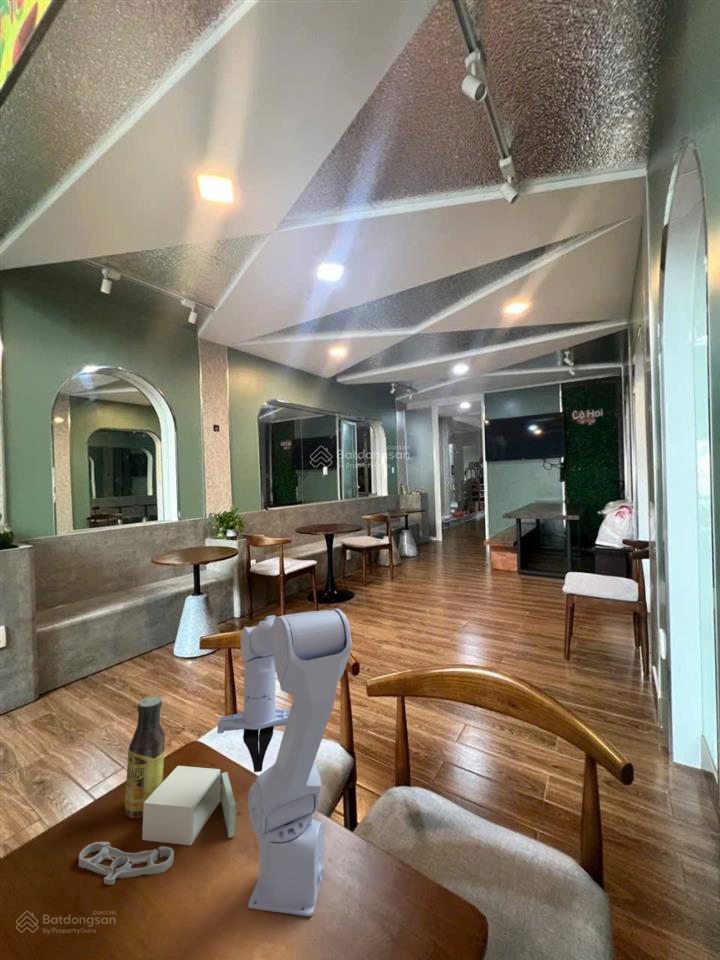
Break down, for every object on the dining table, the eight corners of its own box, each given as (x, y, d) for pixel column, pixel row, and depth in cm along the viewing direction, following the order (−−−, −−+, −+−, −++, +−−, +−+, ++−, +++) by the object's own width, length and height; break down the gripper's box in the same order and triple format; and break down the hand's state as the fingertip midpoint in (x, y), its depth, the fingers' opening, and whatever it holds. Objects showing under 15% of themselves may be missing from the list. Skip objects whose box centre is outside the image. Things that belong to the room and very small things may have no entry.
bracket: (114, 823, 69) (178, 848, 63) (114, 835, 69) (178, 861, 63) (69, 858, 62) (137, 890, 56) (69, 872, 62) (136, 904, 56)
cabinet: (219, 801, 75) (220, 769, 76) (190, 845, 66) (191, 807, 66) (176, 797, 77) (177, 765, 77) (142, 839, 67) (143, 802, 67)
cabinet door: (226, 797, 76) (226, 769, 77) (235, 835, 67) (236, 803, 68) (219, 799, 76) (220, 770, 76) (228, 838, 67) (229, 805, 67)
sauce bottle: (117, 812, 73) (122, 702, 75) (150, 792, 78) (154, 690, 80) (136, 827, 69) (141, 711, 71) (169, 805, 75) (173, 698, 76)
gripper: (298, 679, 78) (298, 751, 76) (223, 685, 75) (221, 759, 74) (298, 696, 71) (298, 774, 70) (215, 702, 68) (213, 784, 67)
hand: (258, 768), depth 71 cm, fingers closed
